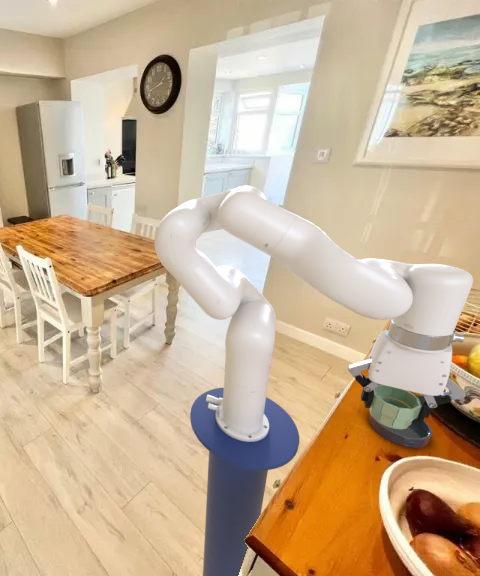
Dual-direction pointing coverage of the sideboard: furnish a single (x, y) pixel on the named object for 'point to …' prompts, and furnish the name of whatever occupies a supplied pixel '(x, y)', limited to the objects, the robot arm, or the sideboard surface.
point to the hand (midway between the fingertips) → (391, 409)
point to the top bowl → (394, 407)
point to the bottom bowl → (405, 433)
